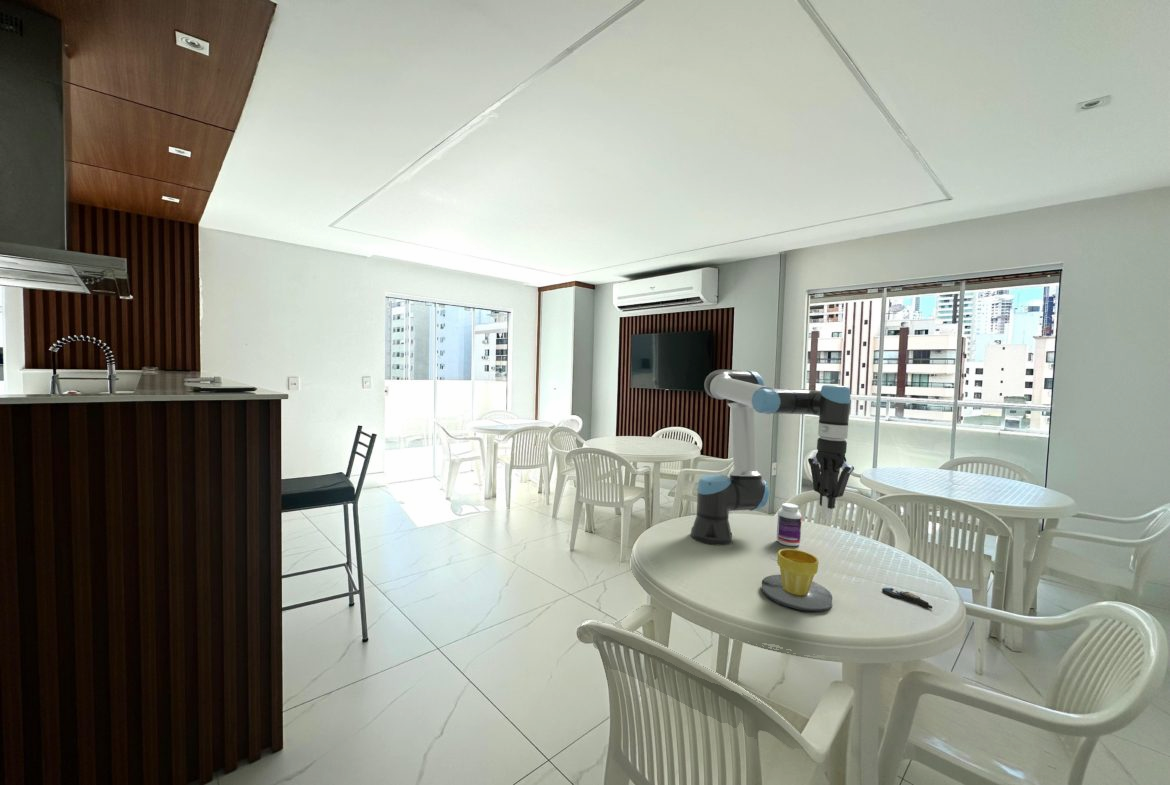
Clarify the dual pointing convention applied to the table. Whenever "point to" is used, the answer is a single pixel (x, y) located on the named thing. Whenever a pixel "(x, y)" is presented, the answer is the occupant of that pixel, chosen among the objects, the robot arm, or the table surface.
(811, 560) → the plant pot
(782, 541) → the pill bottle
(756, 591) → the table surface
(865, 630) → the table surface
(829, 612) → the table surface
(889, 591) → the micrometer
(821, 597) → the grey round piece
